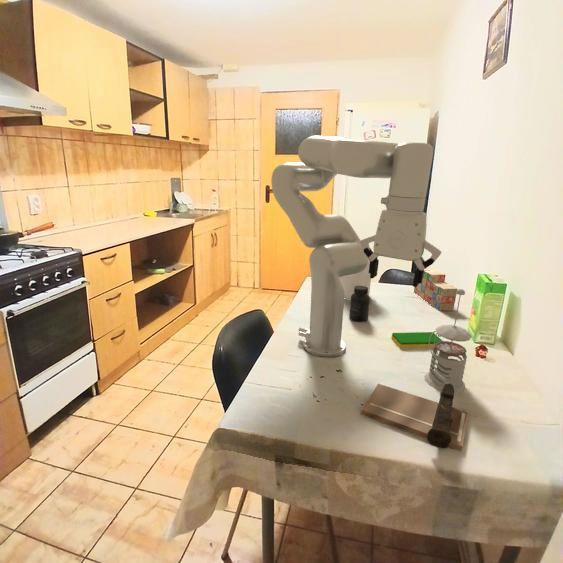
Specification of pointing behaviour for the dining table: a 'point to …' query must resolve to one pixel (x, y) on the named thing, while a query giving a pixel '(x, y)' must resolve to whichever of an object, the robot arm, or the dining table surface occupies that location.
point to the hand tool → (442, 419)
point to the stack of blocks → (436, 290)
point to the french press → (448, 368)
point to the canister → (356, 281)
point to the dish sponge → (415, 340)
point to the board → (411, 413)
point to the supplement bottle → (359, 304)
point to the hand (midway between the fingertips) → (393, 281)
